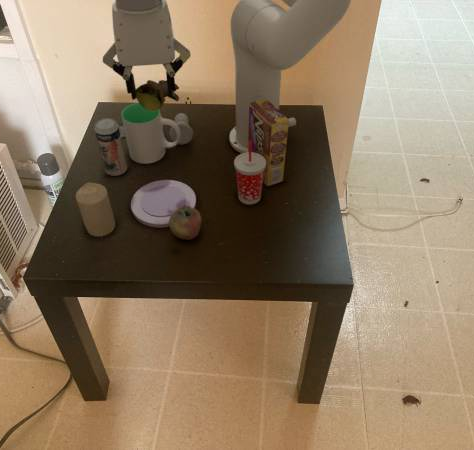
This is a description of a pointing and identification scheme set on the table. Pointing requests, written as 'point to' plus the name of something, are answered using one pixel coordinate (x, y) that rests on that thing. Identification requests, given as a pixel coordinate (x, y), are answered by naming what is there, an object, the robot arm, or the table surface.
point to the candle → (95, 209)
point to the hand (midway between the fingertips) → (152, 93)
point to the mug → (146, 133)
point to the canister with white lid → (111, 146)
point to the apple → (185, 222)
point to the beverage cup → (249, 175)
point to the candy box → (268, 138)
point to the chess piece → (182, 129)
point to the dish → (161, 202)
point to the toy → (154, 95)
